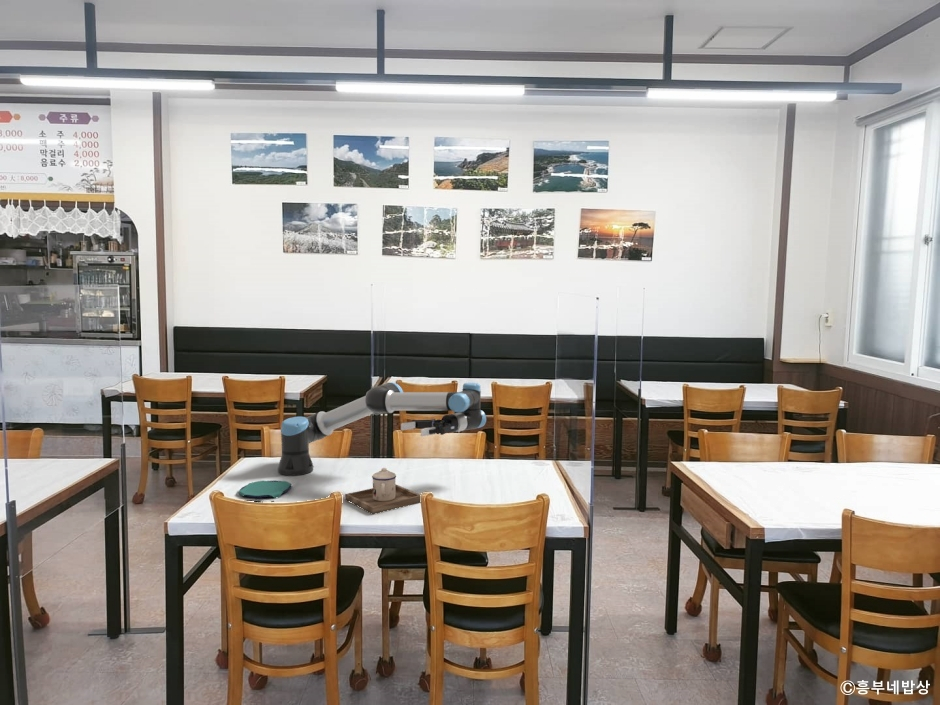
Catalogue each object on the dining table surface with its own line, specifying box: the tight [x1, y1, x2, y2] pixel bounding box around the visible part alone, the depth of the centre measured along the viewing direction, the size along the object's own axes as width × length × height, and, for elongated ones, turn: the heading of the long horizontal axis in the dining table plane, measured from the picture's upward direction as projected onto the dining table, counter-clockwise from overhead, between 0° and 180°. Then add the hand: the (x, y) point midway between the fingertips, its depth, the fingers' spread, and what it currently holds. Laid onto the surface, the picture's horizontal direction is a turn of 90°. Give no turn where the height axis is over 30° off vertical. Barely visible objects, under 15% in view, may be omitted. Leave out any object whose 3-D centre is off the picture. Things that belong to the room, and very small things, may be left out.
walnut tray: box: [344, 483, 421, 515], centre depth 244 cm, size 20×22×2 cm
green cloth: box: [238, 480, 293, 503], centre depth 251 cm, size 20×30×2 cm, turn 176°
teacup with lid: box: [371, 467, 397, 501], centre depth 244 cm, size 12×9×12 cm
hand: (411, 429), depth 250 cm, fingers open, 13 cm apart
